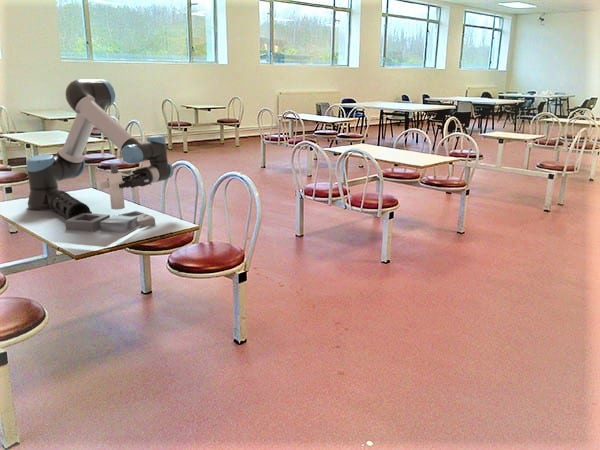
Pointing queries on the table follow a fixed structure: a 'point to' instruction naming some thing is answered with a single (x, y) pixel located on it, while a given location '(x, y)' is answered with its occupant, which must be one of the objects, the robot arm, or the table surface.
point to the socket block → (85, 222)
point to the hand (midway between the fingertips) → (106, 186)
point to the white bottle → (117, 195)
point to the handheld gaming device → (141, 218)
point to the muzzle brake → (66, 204)
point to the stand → (118, 224)
